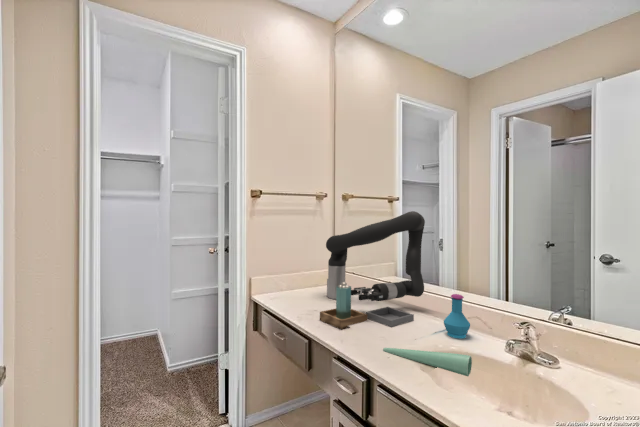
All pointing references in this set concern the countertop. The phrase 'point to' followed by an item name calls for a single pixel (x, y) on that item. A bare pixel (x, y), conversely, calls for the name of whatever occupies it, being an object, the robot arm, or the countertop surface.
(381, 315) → the charcoal bin
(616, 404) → the countertop surface
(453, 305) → the perfume bottle
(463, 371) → the mint green cone
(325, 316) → the walnut tray
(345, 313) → the teal octagonal tall prism
